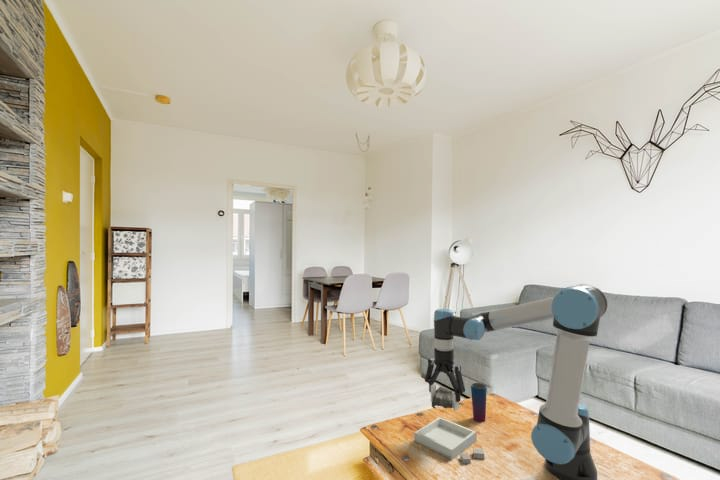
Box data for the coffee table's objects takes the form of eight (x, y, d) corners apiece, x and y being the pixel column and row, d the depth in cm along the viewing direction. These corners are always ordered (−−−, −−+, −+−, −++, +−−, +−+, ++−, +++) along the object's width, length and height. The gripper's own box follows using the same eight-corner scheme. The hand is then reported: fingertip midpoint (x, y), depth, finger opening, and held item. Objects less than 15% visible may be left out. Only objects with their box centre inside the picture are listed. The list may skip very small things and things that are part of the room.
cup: (471, 422, 151) (470, 387, 151) (471, 415, 157) (470, 381, 158) (488, 424, 149) (487, 389, 149) (487, 416, 155) (486, 383, 156)
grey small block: (483, 455, 126) (483, 449, 126) (484, 459, 124) (484, 454, 124) (473, 454, 127) (473, 448, 127) (474, 458, 124) (473, 452, 124)
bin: (476, 440, 136) (476, 431, 136) (452, 460, 123) (452, 450, 123) (439, 425, 148) (439, 417, 148) (414, 441, 135) (414, 432, 136)
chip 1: (470, 464, 121) (470, 458, 121) (463, 464, 121) (463, 459, 121) (467, 458, 124) (467, 453, 124) (460, 458, 124) (460, 453, 124)
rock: (453, 415, 129) (452, 397, 130) (430, 412, 132) (429, 395, 133) (455, 401, 142) (454, 385, 142) (434, 398, 145) (433, 382, 145)
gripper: (474, 352, 131) (475, 411, 131) (426, 341, 148) (426, 393, 147) (464, 356, 126) (465, 418, 126) (415, 344, 142) (416, 399, 142)
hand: (444, 405), depth 136 cm, fingers closed on rock, 10 cm apart
